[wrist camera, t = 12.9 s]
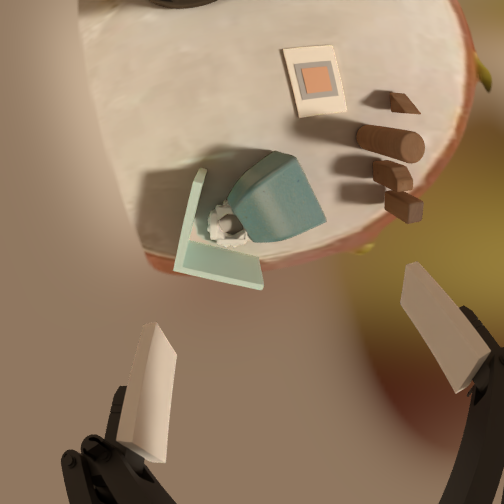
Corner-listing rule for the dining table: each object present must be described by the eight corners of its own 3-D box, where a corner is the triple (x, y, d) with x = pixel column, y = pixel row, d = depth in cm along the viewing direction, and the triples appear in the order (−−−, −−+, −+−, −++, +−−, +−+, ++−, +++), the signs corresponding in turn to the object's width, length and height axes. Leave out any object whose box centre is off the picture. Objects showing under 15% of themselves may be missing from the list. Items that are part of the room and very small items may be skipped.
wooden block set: (401, 202, 40) (441, 226, 31) (358, 209, 39) (396, 237, 30) (397, 93, 31) (445, 95, 22) (350, 91, 31) (395, 87, 22)
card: (282, 49, 28) (283, 48, 27) (331, 45, 28) (333, 44, 27) (298, 117, 33) (299, 118, 32) (346, 111, 32) (347, 111, 32)
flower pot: (216, 183, 35) (274, 149, 35) (249, 234, 39) (302, 202, 39) (222, 199, 28) (296, 155, 27) (262, 262, 32) (328, 222, 31)
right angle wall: (256, 261, 43) (261, 290, 37) (181, 243, 41) (173, 270, 34) (283, 190, 38) (295, 209, 31) (200, 167, 35) (193, 181, 29)
